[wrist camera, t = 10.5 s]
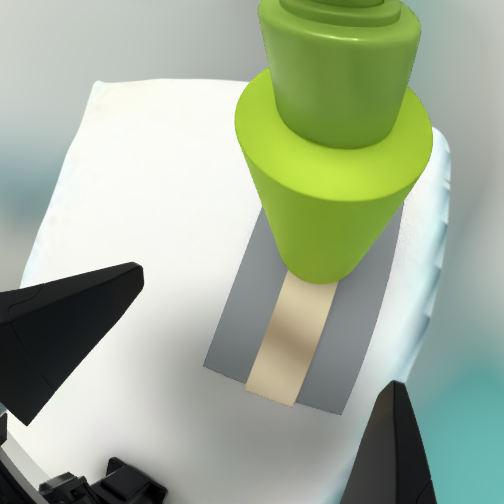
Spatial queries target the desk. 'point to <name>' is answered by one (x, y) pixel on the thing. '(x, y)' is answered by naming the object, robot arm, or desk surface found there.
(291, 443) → the desk surface
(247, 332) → the base board
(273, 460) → the desk surface
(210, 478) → the desk surface
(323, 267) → the soap dispenser
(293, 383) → the ridge
